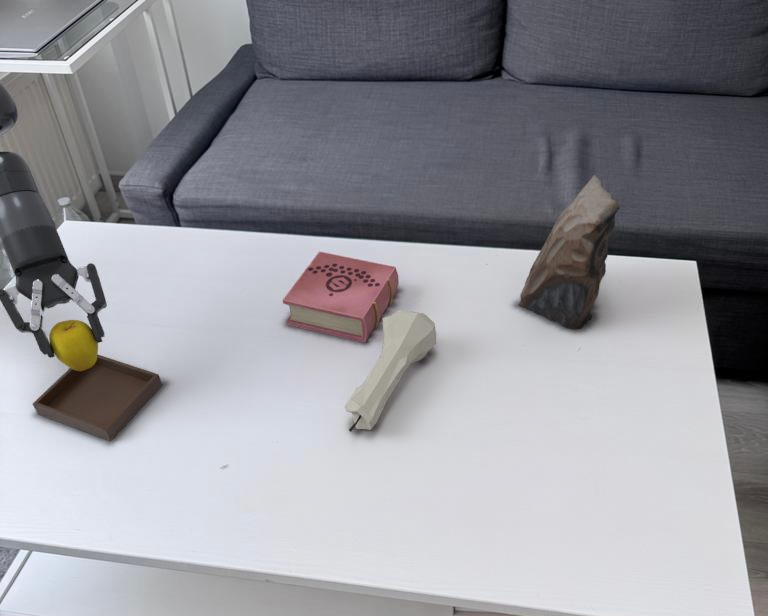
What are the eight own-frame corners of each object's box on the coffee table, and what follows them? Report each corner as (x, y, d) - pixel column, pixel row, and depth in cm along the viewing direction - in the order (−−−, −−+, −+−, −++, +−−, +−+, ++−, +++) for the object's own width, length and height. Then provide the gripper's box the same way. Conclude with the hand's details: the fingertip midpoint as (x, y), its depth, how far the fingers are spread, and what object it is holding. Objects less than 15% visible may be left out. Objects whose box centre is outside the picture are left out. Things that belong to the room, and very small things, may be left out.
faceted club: (451, 342, 120) (385, 454, 108) (405, 340, 124) (336, 447, 112) (437, 296, 114) (365, 409, 101) (389, 296, 118) (315, 404, 106)
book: (369, 343, 122) (368, 319, 118) (286, 324, 126) (282, 300, 122) (401, 292, 130) (400, 267, 126) (322, 275, 134) (319, 251, 130)
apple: (112, 368, 111) (93, 324, 104) (71, 385, 109) (49, 342, 102) (98, 344, 114) (78, 301, 108) (57, 361, 112) (35, 318, 106)
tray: (38, 414, 116) (32, 403, 114) (92, 361, 123) (87, 350, 121) (110, 441, 111) (105, 430, 110) (162, 385, 118) (158, 374, 117)
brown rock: (569, 275, 131) (589, 164, 115) (622, 311, 125) (652, 198, 109) (515, 303, 127) (528, 192, 111) (567, 341, 120) (589, 229, 105)
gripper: (-32, 241, 99) (20, 362, 102) (76, 211, 102) (123, 329, 105) (-18, 255, 106) (30, 367, 109) (82, 227, 109) (126, 337, 112)
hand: (76, 348), depth 107 cm, fingers closed on apple, 6 cm apart
